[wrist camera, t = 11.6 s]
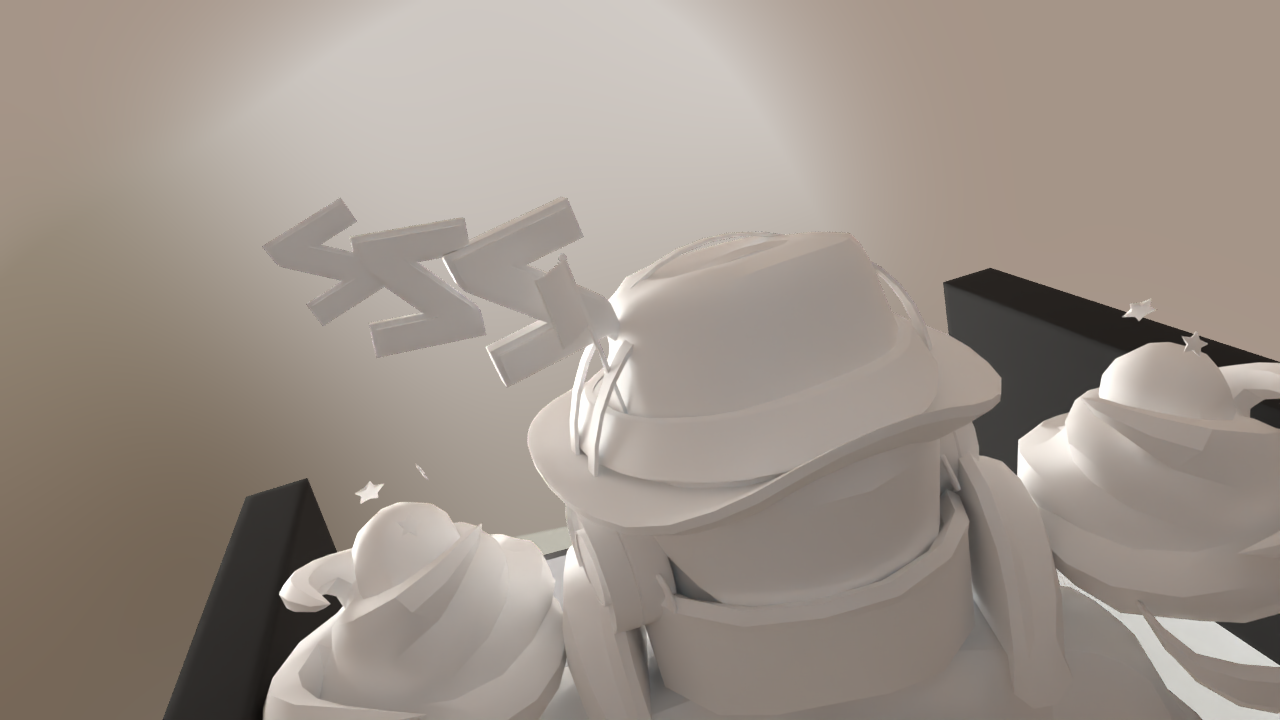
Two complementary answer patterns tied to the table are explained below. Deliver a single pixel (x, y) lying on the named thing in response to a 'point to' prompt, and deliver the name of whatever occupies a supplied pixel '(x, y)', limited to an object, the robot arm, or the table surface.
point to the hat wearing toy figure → (784, 505)
